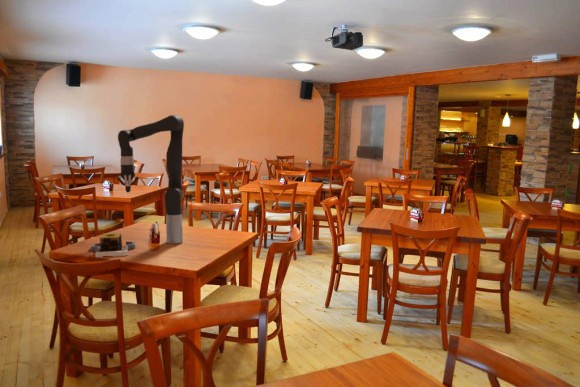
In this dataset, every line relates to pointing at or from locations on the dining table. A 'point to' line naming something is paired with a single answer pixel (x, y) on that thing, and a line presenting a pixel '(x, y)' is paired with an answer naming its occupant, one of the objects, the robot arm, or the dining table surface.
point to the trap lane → (113, 253)
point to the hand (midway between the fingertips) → (128, 192)
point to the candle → (110, 242)
